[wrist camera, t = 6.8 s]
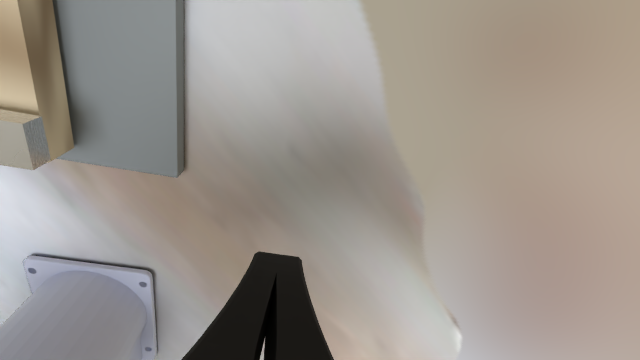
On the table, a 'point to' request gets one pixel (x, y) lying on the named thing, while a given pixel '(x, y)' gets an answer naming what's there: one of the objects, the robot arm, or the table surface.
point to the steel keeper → (22, 140)
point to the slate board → (124, 82)
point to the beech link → (34, 69)
